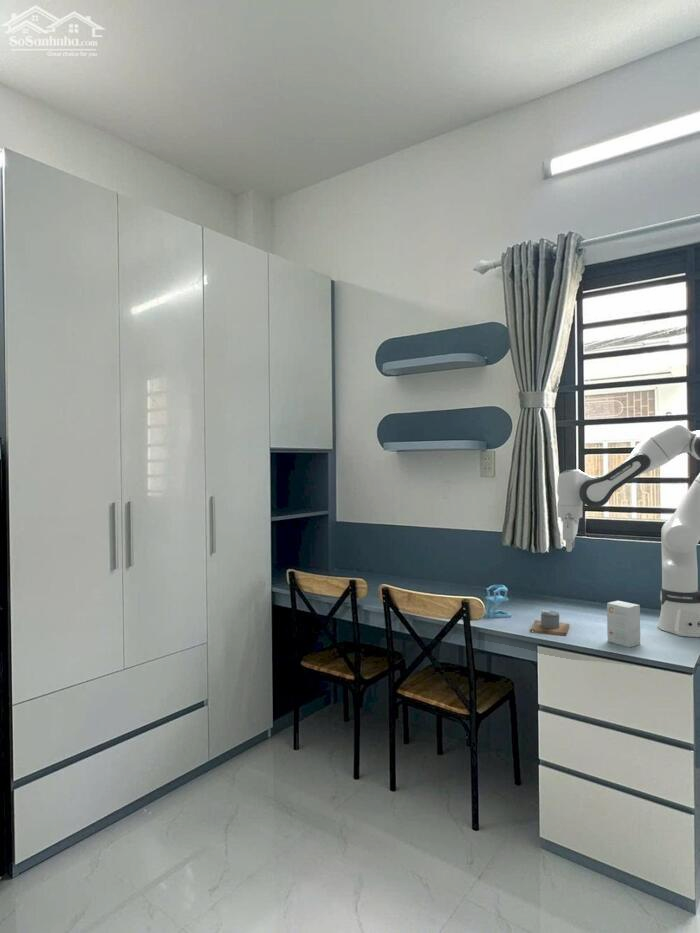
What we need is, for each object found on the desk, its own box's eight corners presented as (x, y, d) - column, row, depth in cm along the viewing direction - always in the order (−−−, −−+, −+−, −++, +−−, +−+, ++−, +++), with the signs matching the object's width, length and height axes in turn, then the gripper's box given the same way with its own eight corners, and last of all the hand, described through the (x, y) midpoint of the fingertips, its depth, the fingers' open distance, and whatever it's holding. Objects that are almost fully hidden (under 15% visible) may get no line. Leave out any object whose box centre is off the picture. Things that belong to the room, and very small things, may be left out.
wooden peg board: (569, 626, 214) (569, 614, 214) (566, 635, 203) (566, 622, 203) (535, 622, 219) (535, 610, 219) (530, 631, 209) (530, 619, 209)
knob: (559, 624, 213) (560, 610, 213) (558, 629, 208) (558, 614, 207) (542, 622, 215) (542, 608, 215) (540, 627, 210) (540, 612, 210)
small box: (640, 644, 193) (640, 604, 193) (629, 647, 190) (629, 607, 190) (618, 638, 200) (617, 599, 200) (606, 641, 197) (606, 602, 196)
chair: (482, 614, 233) (482, 584, 233) (501, 612, 235) (500, 582, 235) (493, 619, 225) (492, 588, 225) (512, 617, 228) (511, 586, 228)
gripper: (576, 515, 209) (577, 554, 209) (580, 510, 228) (581, 546, 228) (558, 515, 212) (558, 553, 212) (563, 510, 230) (564, 545, 231)
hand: (570, 549), depth 220 cm, fingers open, 8 cm apart
